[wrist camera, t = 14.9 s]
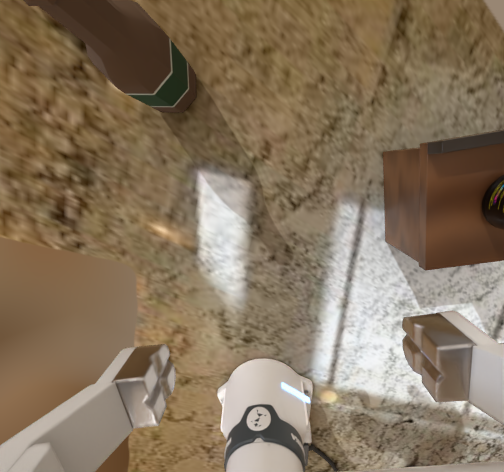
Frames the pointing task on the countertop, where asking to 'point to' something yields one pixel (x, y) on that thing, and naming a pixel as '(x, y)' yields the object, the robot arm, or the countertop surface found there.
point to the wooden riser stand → (444, 200)
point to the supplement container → (494, 203)
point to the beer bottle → (128, 50)
